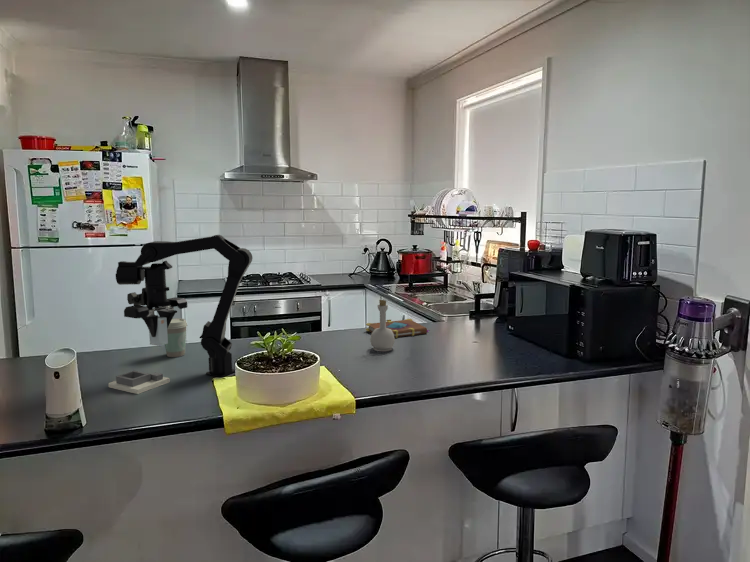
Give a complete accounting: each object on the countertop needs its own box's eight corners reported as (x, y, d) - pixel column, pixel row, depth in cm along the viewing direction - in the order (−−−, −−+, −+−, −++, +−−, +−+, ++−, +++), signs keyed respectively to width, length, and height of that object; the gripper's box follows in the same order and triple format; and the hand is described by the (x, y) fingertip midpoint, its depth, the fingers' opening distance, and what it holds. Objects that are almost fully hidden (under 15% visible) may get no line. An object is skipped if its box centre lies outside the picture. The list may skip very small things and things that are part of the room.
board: (169, 382, 156) (169, 371, 155) (137, 394, 146) (137, 382, 145) (141, 376, 161) (140, 365, 161) (108, 387, 151) (107, 376, 151)
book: (437, 336, 214) (437, 323, 213) (381, 342, 203) (381, 330, 203) (416, 325, 228) (417, 314, 227) (364, 331, 218) (364, 319, 217)
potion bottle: (366, 350, 188) (366, 300, 185) (376, 344, 196) (376, 296, 193) (390, 353, 185) (390, 302, 182) (398, 347, 193) (399, 298, 190)
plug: (168, 343, 161) (166, 317, 160) (159, 345, 158) (157, 319, 157) (158, 341, 163) (157, 316, 162) (149, 344, 160) (148, 318, 159)
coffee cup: (180, 359, 178) (178, 323, 177) (157, 357, 180) (155, 322, 178) (193, 352, 187) (192, 318, 185) (171, 350, 188) (169, 317, 187)
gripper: (161, 278, 170) (164, 326, 172) (109, 286, 153) (113, 339, 156) (187, 280, 165) (189, 330, 167) (135, 289, 148) (139, 344, 151)
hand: (158, 335), depth 160 cm, fingers closed on plug, 3 cm apart
